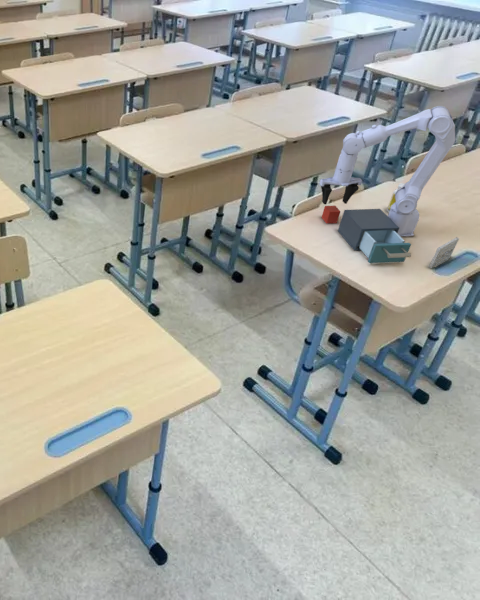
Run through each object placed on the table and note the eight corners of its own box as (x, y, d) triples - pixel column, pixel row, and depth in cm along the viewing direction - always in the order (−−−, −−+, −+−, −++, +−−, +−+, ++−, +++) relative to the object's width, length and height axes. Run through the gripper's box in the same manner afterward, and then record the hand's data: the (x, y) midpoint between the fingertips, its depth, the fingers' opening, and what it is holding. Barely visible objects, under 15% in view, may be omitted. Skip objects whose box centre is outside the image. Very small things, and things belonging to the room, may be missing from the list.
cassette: (432, 269, 181) (441, 249, 176) (426, 266, 182) (435, 247, 178) (451, 258, 186) (461, 238, 182) (446, 255, 188) (455, 236, 183)
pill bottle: (406, 216, 209) (416, 190, 202) (388, 215, 210) (398, 188, 203) (402, 209, 214) (412, 182, 207) (385, 207, 215) (394, 181, 208)
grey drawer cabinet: (391, 249, 191) (399, 227, 186) (354, 250, 190) (361, 229, 185) (372, 229, 202) (380, 208, 197) (337, 230, 201) (344, 209, 196)
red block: (331, 217, 209) (335, 205, 206) (336, 223, 206) (340, 211, 203) (321, 217, 209) (324, 205, 206) (326, 223, 205) (329, 211, 202)
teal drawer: (411, 270, 179) (419, 252, 175) (376, 271, 179) (383, 253, 175) (385, 242, 193) (392, 225, 189) (352, 243, 193) (358, 226, 188)
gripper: (329, 173, 191) (319, 208, 199) (370, 172, 192) (358, 207, 200) (321, 165, 197) (311, 199, 205) (360, 164, 197) (349, 198, 206)
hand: (334, 202), depth 203 cm, fingers open, 7 cm apart
